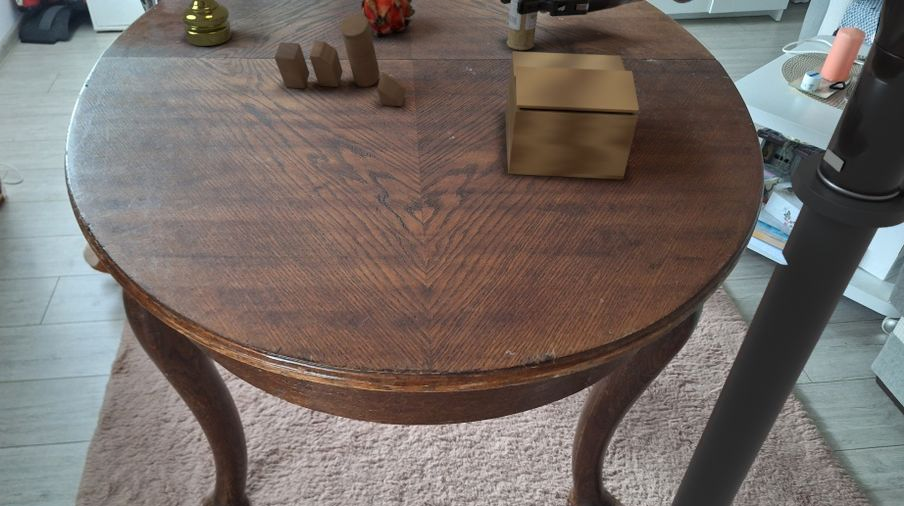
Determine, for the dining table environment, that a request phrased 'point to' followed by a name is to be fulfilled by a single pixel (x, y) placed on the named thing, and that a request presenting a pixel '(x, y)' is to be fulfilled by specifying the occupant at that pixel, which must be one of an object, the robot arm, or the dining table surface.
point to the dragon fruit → (387, 15)
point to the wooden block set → (329, 63)
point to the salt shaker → (206, 23)
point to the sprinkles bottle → (521, 28)
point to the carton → (566, 127)
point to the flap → (576, 89)
